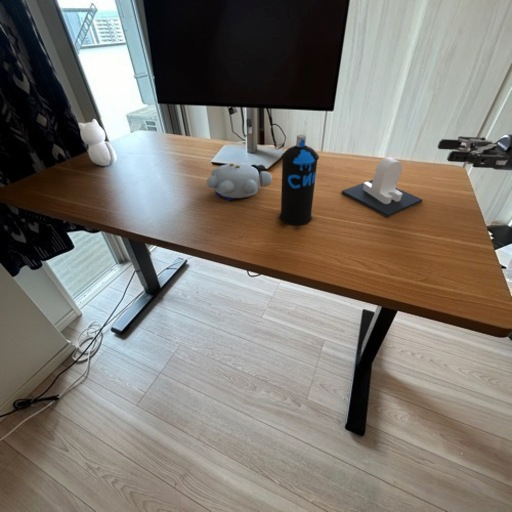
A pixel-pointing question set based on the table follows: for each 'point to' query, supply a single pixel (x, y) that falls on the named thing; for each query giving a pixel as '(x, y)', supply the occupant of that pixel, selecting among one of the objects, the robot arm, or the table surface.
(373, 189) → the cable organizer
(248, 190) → the figurine
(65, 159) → the table surface
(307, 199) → the aerosol can
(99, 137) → the cat figurine
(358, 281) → the table surface
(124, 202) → the table surface
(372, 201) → the felt mat
